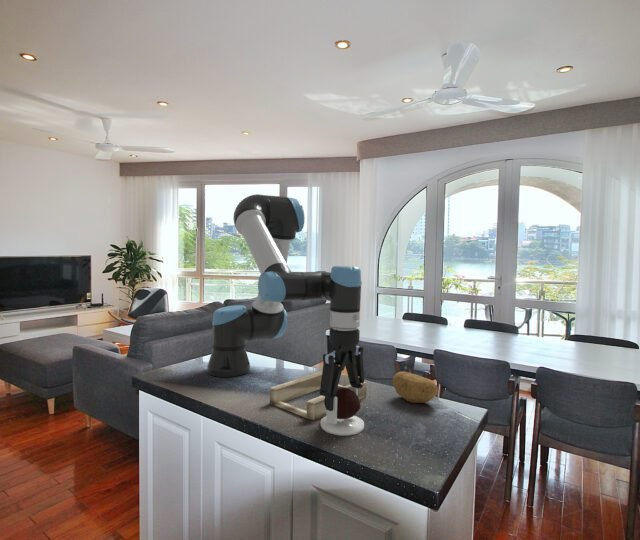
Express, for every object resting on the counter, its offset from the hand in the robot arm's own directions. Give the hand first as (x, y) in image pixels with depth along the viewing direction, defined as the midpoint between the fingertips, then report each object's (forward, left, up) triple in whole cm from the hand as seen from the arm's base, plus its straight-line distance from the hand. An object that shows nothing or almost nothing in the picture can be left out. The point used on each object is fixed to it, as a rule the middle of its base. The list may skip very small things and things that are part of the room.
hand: (342, 417), depth 98 cm
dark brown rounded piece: (0, 0, -1) cm, 1 cm away
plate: (0, 0, -2) cm, 2 cm away
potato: (+6, +28, -2) cm, 29 cm away
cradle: (-15, +9, -2) cm, 18 cm away
